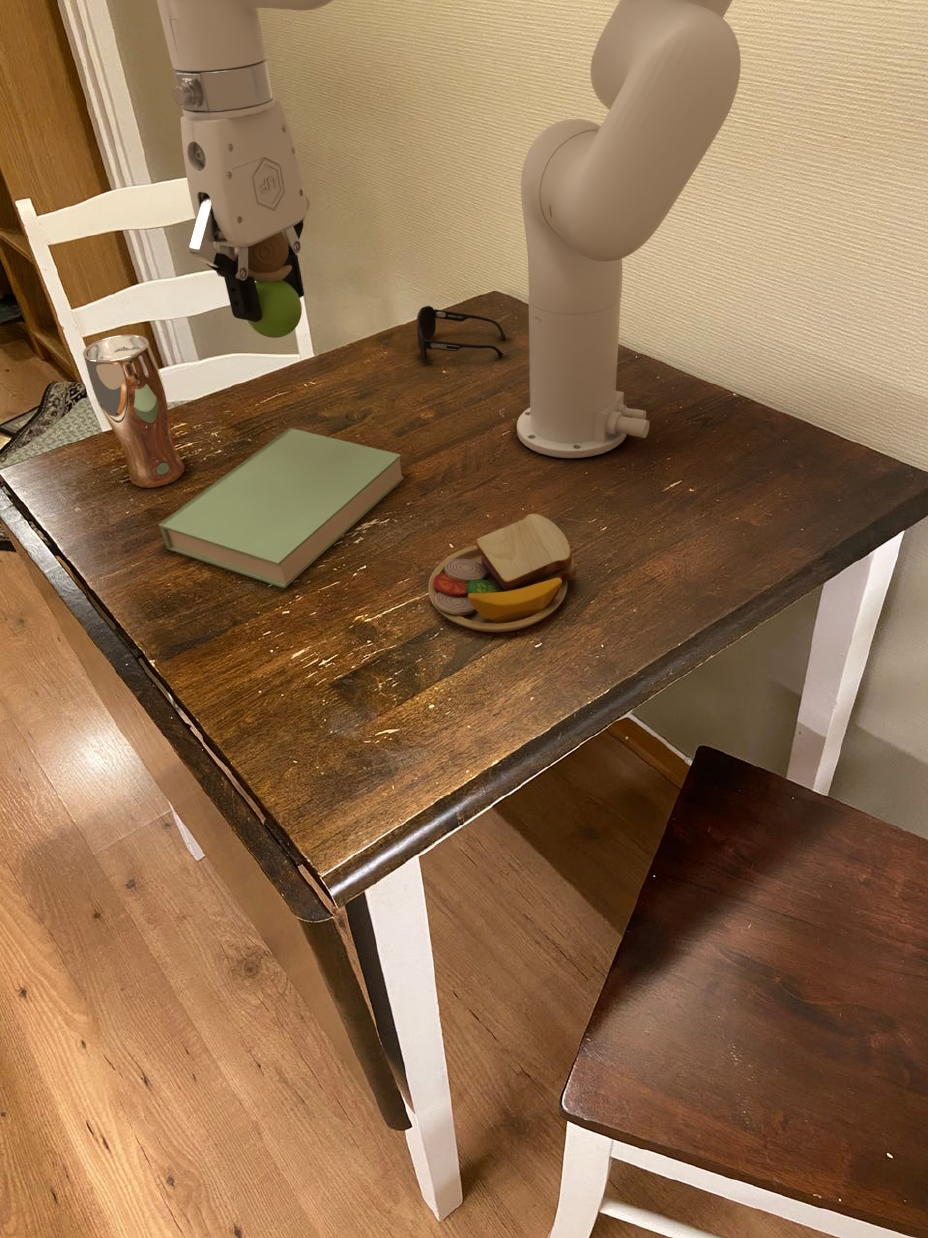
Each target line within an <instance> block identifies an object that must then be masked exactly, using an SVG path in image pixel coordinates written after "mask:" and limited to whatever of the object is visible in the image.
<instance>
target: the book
mask: <svg viewBox="0 0 928 1238" xmlns="http://www.w3.org/2000/svg"><path fill="white" fill-rule="evenodd" d="M401 458H402V454H401V453H396V452H391V451H387V450H383V449H380V448H375V447H371V446H366V445H362V444H359V443H354V442H350V441H346V440H343V439H342V440H341V439H339V438H338V439H337V438H334V437H329V436H325V435H321V434H317V433H313V432H308V431H304V430H300V429H296V428H293V427H288V429H286V430H285V431H284V432H282V433H281V434H279V435H278V436H277V437H275V438H274V439H272V441H270V442H269V443H267V444H266V445H264V446H263V447H262V448H261V449H259V450H258V451H256V452H254V454H252V455H251V456H249V457H248V458H247V459H245V460H244V461H242V463H240V464H239V465H237V466H236V467H235V468H233V469H232V470H231V471H229V472H228V473H227V474H225V475H224V476H222V477H221V478H220V479H218V480H217V481H216V482H214V483H213V484H211V485H210V486H209V487H207V488H206V489H205V490H203V491H202V492H201V493H199V494H197V496H194V498H193V499H191V500H190V501H188V502H187V503H185V504H184V505H183V506H181V507H180V508H179V509H178V510H176V511H175V512H174V513H172V514H171V515H169V516H168V517H166V519H164V520H162V521H161V522H160V523H158V527H159V529H160V531H161V535H162V538H163V541H164V544H165V547H166V549H167V550H169V551H171V552H175V553H177V554H181V555H183V556H186V557H190V558H193V559H195V560H198V561H202V562H204V563H207V564H210V565H213V566H217V567H219V568H222V569H225V570H228V571H231V572H234V573H236V574H240V575H243V576H246V577H249V578H252V579H254V580H258V581H261V582H263V583H267V584H269V585H272V586H276V587H278V588H281V589H286V588H287V587H288V586H289V585H290V584H291V583H293V582H294V580H296V579H297V578H298V577H299V576H300V575H301V574H303V573H304V571H305V570H306V569H307V568H309V567H310V566H311V565H312V564H313V563H314V562H315V561H317V559H318V558H319V557H321V556H322V555H323V554H324V553H325V552H326V551H327V550H328V549H329V548H331V546H332V545H334V544H335V543H336V542H337V541H338V540H339V539H340V538H341V537H342V536H344V535H345V533H346V532H348V531H349V530H350V529H351V528H352V527H353V526H354V525H356V523H358V522H359V521H360V520H361V519H362V518H363V517H364V516H365V515H366V514H367V513H368V512H370V511H371V509H373V508H374V507H375V506H376V505H377V504H379V502H380V501H381V500H383V498H384V497H386V496H387V495H388V494H390V492H391V491H392V490H394V488H395V487H397V486H398V485H399V484H400V483H401V482H402V481H403V480H404V478H405V477H404V476H403V474H402V467H401Z"/></svg>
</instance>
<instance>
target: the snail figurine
mask: <svg viewBox="0 0 928 1238" xmlns="http://www.w3.org/2000/svg"><path fill="white" fill-rule="evenodd" d="M230 258H231V259H232V260H233V261H234V248H230ZM287 258H288V244H287V241H286V239H285V237H284V236H283V234H282V233H281V232H280V233H278V234H276V235H274V236H271V237H269V238H267V239H265V240H263V241H261V242H259V243H256V244H254V245H252V246H248V276H249V277H254V280H255V283H256V288H257V293H258V297H259V302H260V307H261V312H262V319H261V320H260V321H258V322H253V321H248V320H246V321H247V322H248V324H249V325H250V327H251V328H252V329H253V330H254V331H255V332H256V333H258V334H260V335H262V336H264V337H266V338H272V339H276V338H283V337H285V336H287V335H289V334H291V333H292V332H293V331H294V330H295V329H296V328H297V327H298V326H299V323H300V321H301V318H302V311H303V307H302V301H301V298H299V296H298V294H297V292H296V291H295V289H294V288H293V287H292V286H291V285H290V284H288V283H287V282H285V281H283V280H282V279H284V278H285V277H286V276H287V275H288V274H289V272H290V271H291V269H292V266H291V265H286V266H283V265H284V263H285V262H286V260H287Z"/></svg>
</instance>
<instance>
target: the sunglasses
mask: <svg viewBox="0 0 928 1238" xmlns="http://www.w3.org/2000/svg"><path fill="white" fill-rule="evenodd" d="M436 319H442V320H448V321H453V322H454V321H455V322H464V321H466V320H468V319H474V320H479V321H485V322H488V323H492V324H493V325H495V326H496V327H497V329H498V331H499V333H500V338H501V340H503V341H505V340H506V334H505V332H504V330H503V328H502V327H501V325H500V324H499V323H498V322H497V321H495V320H493V319H492V318H487V317H483V316H479V315H474V314H467V313H460V312H454V311H448V310H441V309H438V308H437V309H436V308H434V307H432V306H430V305H425V306H422V307H421V308H420V309H419V311H418V313H417V316H416V330H417V331H416V332H417V343H418V347H419V351H420V354H421V357H422V360H423V361H427V360H428V352H427V350H438V351H449V352H457V351H458V350H460V349H463V348H468V349H492V350H494V351H495V352H496V353H497V357H498V358H500V359H502V357H503V356H504V354H503V352H502V351H501V350H499V349H498V347H496V346H494V345H491V344H488V345H487V344H467V343H459V342H451V341H441V340H434V339H433V340H432V338H433V337H434V336H435V333H436V321H437V320H436Z"/></svg>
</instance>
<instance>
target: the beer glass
mask: <svg viewBox="0 0 928 1238" xmlns="http://www.w3.org/2000/svg"><path fill="white" fill-rule="evenodd" d="M82 357H83V359H84V362H85V366H86V369H87V374H88V377H89V381H90V384H91V387H92V390H93V393H94V396H95V398H96V401H97V403H98V406H99V409H100V410H101V411H102V414H103V416H104V418H105V419H106V421H107V423H108V424H109V426H110V428H111V429H112V430H111V431H113V433H114V435H115V436H116V438H117V440H118V442H119V444H120V446H121V448H122V450H123V452H124V455H125V459H126V464H127V465H126V466H127V473H128V477H129V480H130V482H131V484H133V485H134V486H136V487H139V488H143V489H152V488H159V487H163V486H167V485H169V484H172V483H173V482H175V481H176V480H178V479H179V478H180V477H181V476H182V475H183V474H184V472H185V464H184V462H183V460H182V458H181V456H180V454H179V453H178V450H177V448H176V446H175V444H174V441H173V436H172V432H171V426H170V425H171V424H170V417H169V409H168V408H169V407H168V400H167V395H166V388H165V385H164V382H163V378H162V374H161V372H160V369H159V365H158V364H157V363H158V362H157V361H156V358H155V355H154V353H153V351H152V349H151V346H150V342H149V340H148V338H146V337H145V336H144V335H143V336H142V335H138V334H131V333H129V334H128V333H127V334H117V335H111V336H107V337H105V338H101V339H99V340H95V341H94V342H92V343H90V344H89V345H87V346H86V347H85V348H84V349H83V351H82Z"/></svg>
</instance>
